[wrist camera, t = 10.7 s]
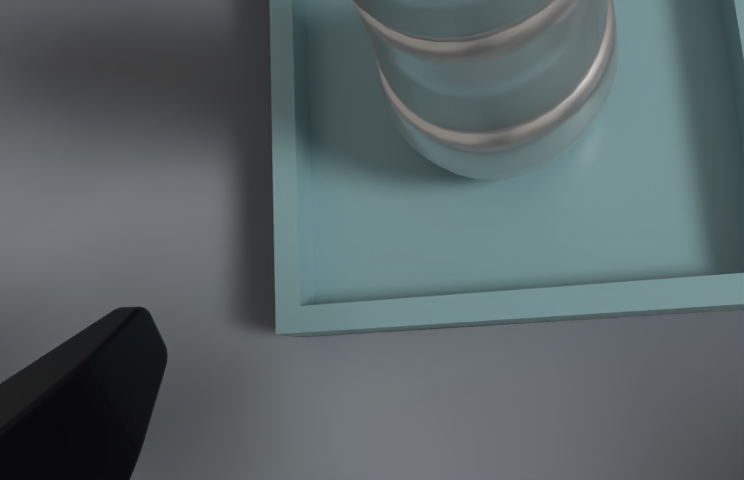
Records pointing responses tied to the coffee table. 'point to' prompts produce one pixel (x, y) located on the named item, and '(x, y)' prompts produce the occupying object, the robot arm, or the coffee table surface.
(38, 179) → the coffee table surface
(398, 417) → the coffee table surface
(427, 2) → the plastic bottle
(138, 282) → the coffee table surface
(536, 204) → the tray
